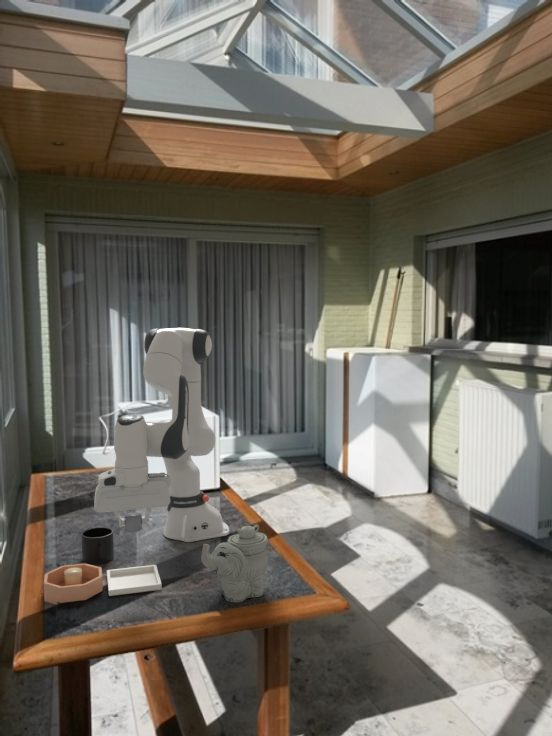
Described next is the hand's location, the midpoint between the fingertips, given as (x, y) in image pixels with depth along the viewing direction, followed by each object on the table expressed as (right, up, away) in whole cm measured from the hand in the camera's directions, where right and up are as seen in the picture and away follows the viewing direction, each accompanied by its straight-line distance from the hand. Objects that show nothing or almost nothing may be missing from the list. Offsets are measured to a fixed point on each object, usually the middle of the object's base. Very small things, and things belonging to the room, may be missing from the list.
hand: (133, 524), depth 177 cm
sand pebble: (-17, -17, +3) cm, 25 cm away
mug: (-15, -17, +21) cm, 31 cm away
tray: (-1, -18, +5) cm, 19 cm away
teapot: (+28, -19, -1) cm, 34 cm away
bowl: (-16, -19, 0) cm, 25 cm away
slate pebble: (0, -1, 0) cm, 1 cm away
